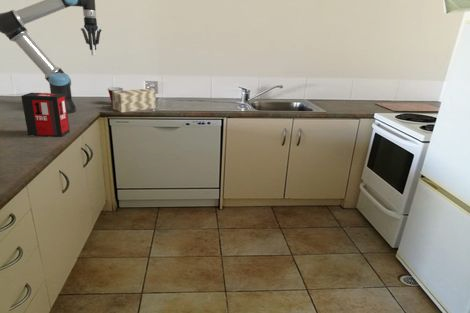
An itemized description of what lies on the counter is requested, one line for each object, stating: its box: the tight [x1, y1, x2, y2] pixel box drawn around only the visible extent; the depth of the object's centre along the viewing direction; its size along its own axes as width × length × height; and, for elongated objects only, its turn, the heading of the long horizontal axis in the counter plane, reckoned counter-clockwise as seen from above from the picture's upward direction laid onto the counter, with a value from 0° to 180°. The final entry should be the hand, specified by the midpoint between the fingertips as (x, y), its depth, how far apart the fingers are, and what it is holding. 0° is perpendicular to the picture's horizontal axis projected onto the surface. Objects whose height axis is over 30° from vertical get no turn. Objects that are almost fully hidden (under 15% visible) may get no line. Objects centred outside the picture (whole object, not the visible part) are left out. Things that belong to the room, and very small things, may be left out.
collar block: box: [112, 88, 157, 113], centre depth 231 cm, size 26×12×12 cm, turn 134°
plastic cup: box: [106, 86, 124, 106], centre depth 240 cm, size 11×11×12 cm
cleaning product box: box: [20, 92, 71, 138], centre depth 167 cm, size 16×9×20 cm, turn 92°
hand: (93, 55), depth 224 cm, fingers closed
